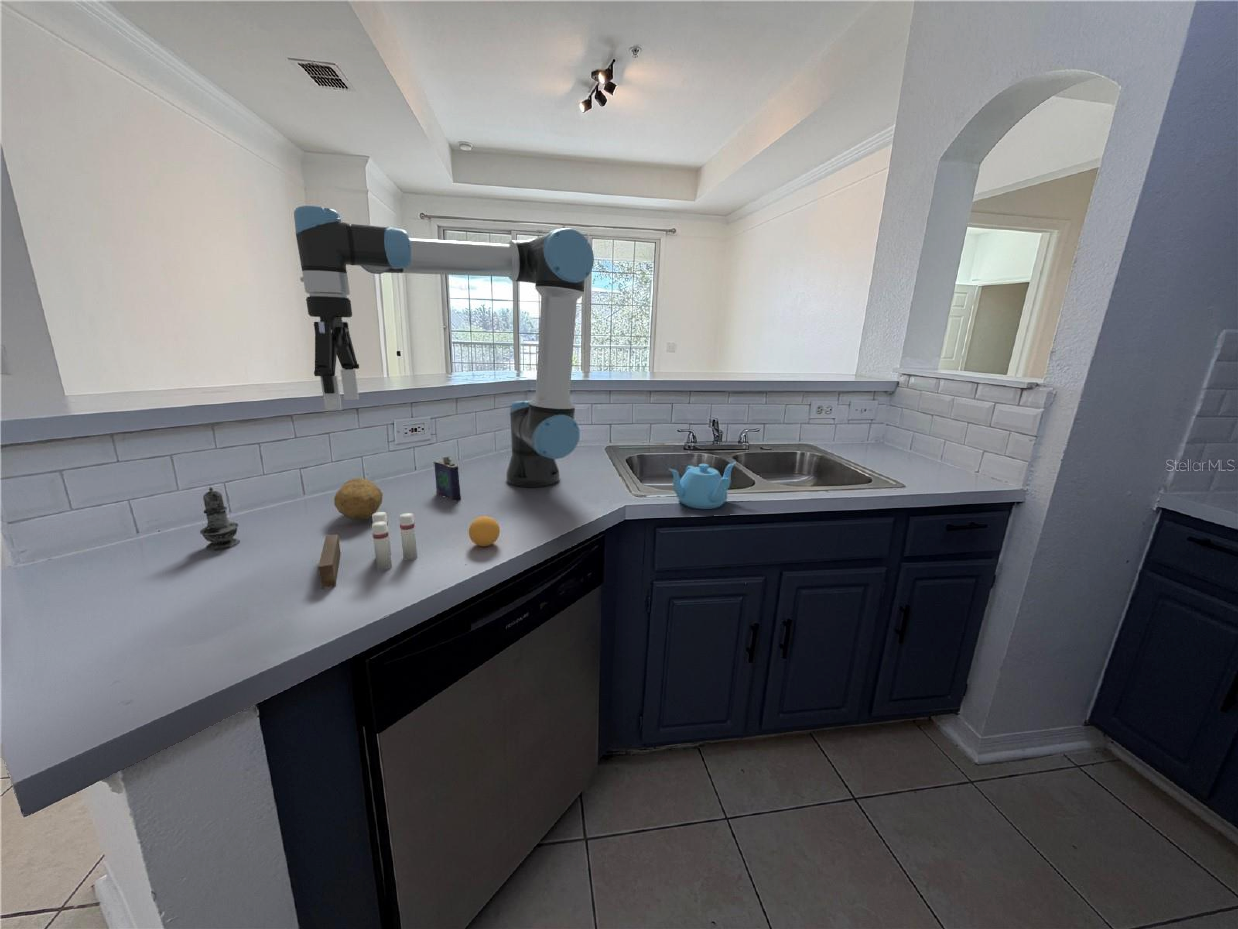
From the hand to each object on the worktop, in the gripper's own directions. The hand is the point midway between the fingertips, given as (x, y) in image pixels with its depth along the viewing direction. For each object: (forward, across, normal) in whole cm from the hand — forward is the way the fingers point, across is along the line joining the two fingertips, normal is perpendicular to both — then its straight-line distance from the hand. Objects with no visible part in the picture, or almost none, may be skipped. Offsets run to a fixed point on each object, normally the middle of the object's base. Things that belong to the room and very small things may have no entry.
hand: (343, 404), depth 100 cm
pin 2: (+26, +23, +9) cm, 36 cm away
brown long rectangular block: (+26, +22, 0) cm, 35 cm away
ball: (+24, +17, +27) cm, 40 cm away
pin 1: (+26, +18, +8) cm, 33 cm away
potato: (+27, -3, 0) cm, 27 cm away
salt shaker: (+26, +7, -23) cm, 36 cm away
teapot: (+27, +3, +81) cm, 86 cm away
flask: (+27, -14, +18) cm, 35 cm away
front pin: (+26, +20, +13) cm, 36 cm away
